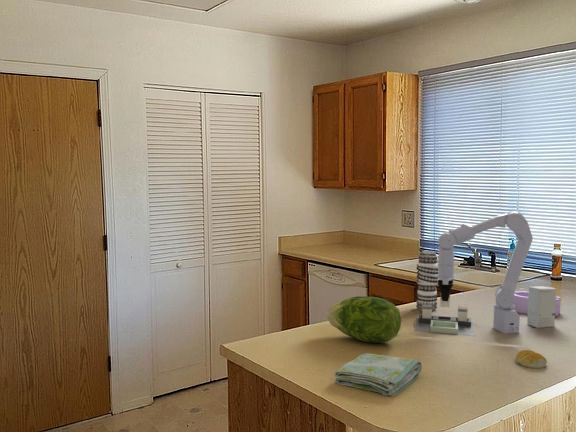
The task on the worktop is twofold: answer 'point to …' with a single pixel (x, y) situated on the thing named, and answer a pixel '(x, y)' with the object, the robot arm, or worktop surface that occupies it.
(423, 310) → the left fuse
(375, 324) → the lettuce
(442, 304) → the block
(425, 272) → the striped tower model
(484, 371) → the worktop surface
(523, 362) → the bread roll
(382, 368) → the towel
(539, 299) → the skincare box
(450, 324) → the panel
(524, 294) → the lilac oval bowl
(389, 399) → the worktop surface
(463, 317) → the block
